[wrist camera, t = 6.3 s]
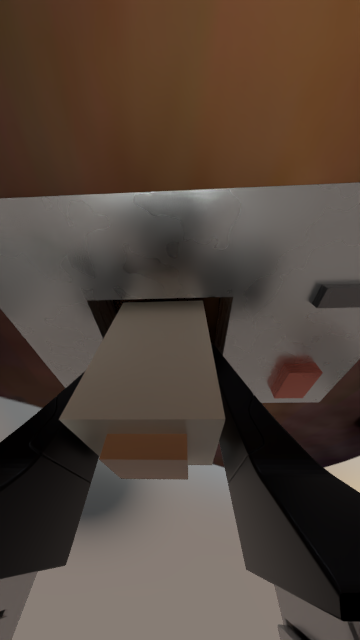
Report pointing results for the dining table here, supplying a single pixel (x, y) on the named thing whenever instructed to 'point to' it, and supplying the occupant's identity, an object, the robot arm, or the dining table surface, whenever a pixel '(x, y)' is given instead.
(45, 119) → the dining table surface
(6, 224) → the switch plate
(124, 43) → the dining table surface
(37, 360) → the dining table surface
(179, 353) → the plug
